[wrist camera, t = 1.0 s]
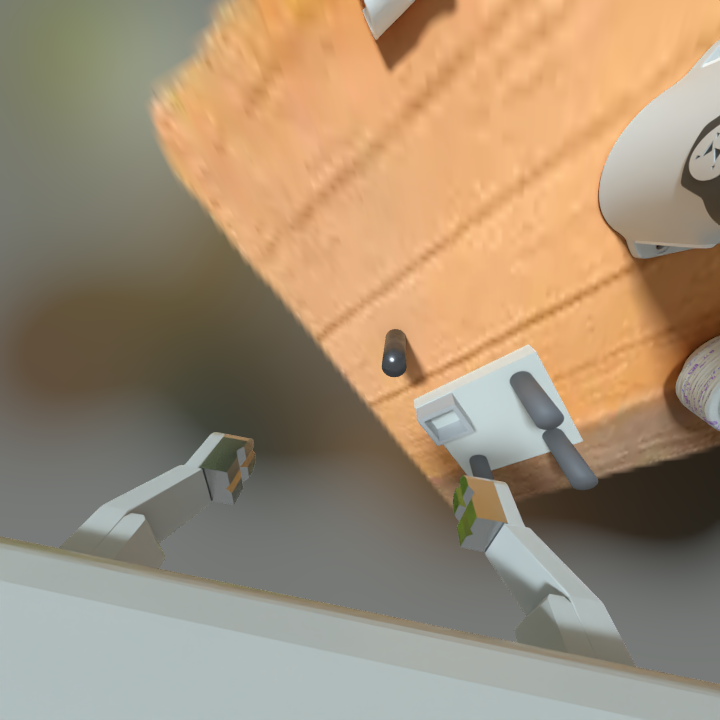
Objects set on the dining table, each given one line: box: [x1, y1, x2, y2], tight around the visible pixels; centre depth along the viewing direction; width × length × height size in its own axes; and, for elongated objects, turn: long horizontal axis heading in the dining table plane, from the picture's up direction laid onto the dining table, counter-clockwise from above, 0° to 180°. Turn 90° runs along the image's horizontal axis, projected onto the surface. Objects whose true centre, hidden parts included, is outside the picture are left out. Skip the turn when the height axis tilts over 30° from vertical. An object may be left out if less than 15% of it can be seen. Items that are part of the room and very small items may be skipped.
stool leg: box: [382, 329, 406, 377], centre depth 39 cm, size 3×3×9 cm
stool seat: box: [414, 344, 598, 490], centre depth 42 cm, size 20×20×12 cm
